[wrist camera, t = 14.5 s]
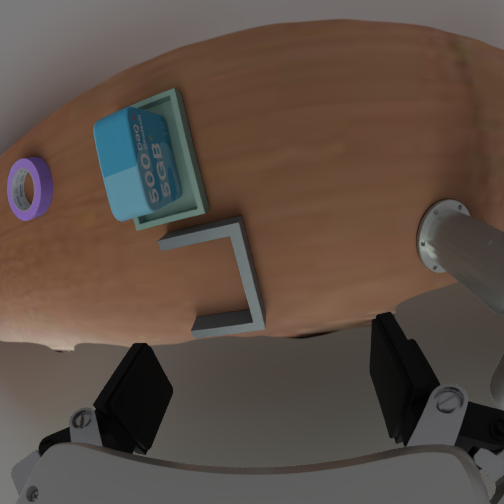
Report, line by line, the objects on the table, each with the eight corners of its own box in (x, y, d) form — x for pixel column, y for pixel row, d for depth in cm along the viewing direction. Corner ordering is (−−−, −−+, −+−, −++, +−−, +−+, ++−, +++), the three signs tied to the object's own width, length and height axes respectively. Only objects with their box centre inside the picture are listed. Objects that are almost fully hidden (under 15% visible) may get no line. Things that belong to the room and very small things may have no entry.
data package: (184, 196, 37) (149, 215, 26) (156, 203, 37) (114, 225, 26) (165, 116, 33) (124, 103, 22) (138, 126, 33) (90, 120, 22)
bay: (241, 215, 38) (238, 222, 34) (265, 314, 43) (265, 329, 40) (167, 232, 39) (157, 240, 36) (199, 324, 45) (194, 338, 41)
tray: (181, 92, 32) (174, 88, 29) (209, 208, 38) (205, 213, 35) (118, 117, 34) (107, 116, 31) (145, 225, 39) (136, 230, 36)
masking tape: (37, 144, 35) (23, 145, 31) (62, 189, 38) (48, 193, 34) (13, 184, 38) (1, 188, 34) (36, 227, 41) (24, 233, 37)
